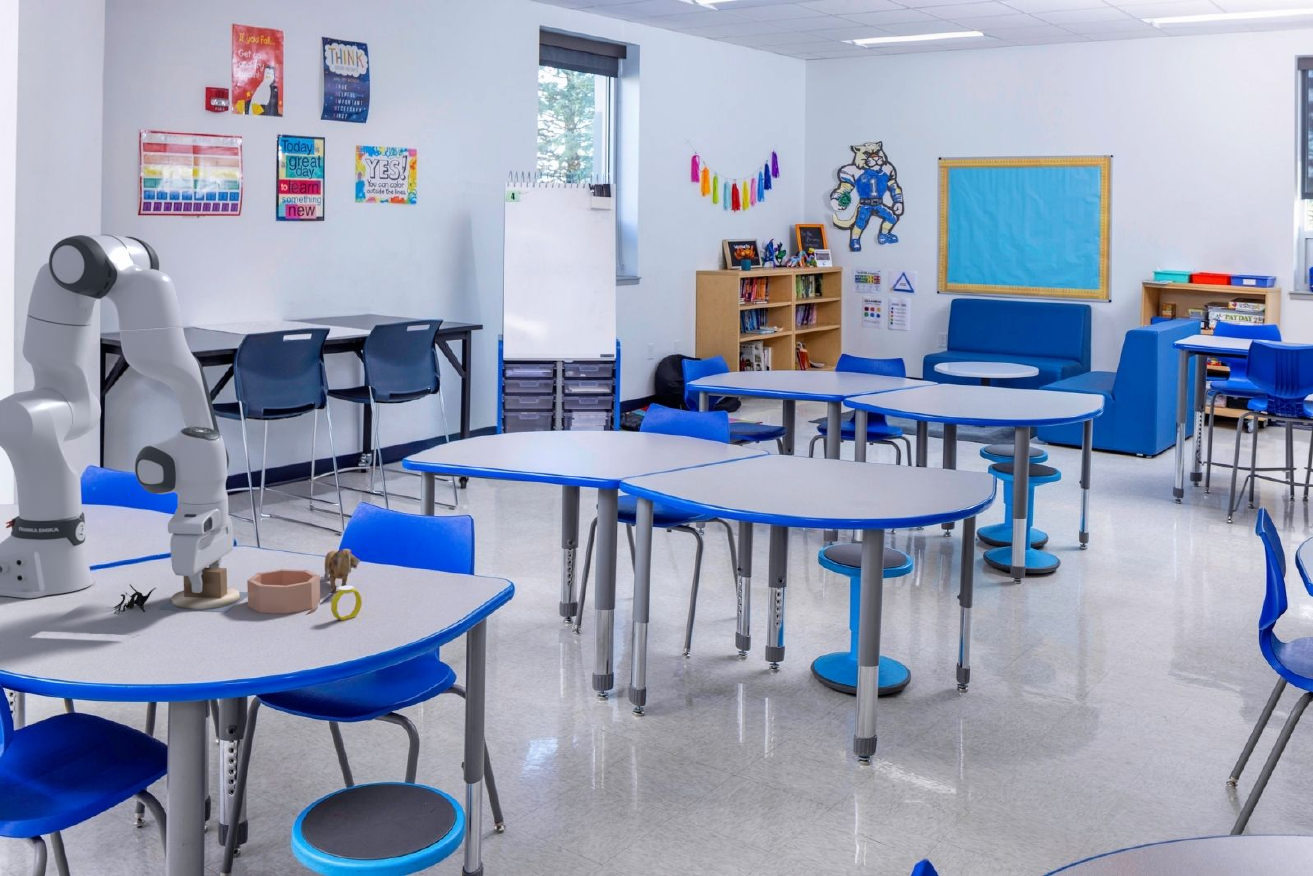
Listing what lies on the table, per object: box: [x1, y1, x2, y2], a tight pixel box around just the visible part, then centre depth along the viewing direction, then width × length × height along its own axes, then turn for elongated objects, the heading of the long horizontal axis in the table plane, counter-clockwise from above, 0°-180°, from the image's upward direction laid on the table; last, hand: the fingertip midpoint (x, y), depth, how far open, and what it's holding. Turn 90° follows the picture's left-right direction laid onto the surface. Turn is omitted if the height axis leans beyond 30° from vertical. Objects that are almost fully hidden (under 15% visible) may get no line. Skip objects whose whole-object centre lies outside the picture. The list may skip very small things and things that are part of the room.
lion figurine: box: [323, 548, 361, 594], centre depth 248 cm, size 15×5×9 cm, turn 34°
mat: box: [156, 591, 248, 613], centre depth 233 cm, size 13×13×1 cm
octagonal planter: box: [246, 568, 321, 616], centre depth 232 cm, size 12×12×6 cm
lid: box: [171, 566, 240, 610], centre depth 233 cm, size 12×12×6 cm
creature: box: [113, 583, 157, 615], centre depth 227 cm, size 8×5×8 cm
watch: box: [330, 585, 363, 621], centre depth 228 cm, size 6×3×6 cm, turn 142°
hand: (205, 587), depth 233 cm, fingers open, 5 cm apart
